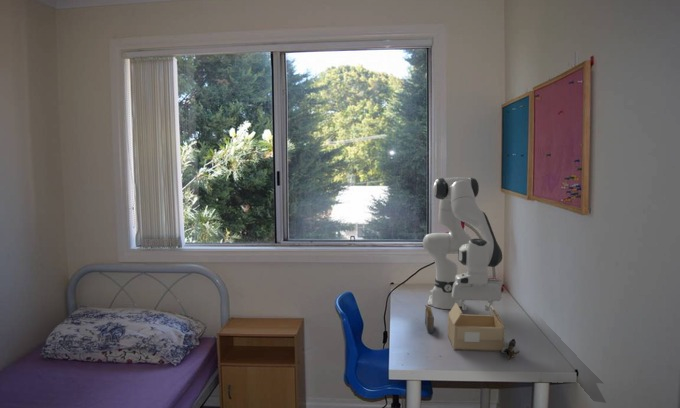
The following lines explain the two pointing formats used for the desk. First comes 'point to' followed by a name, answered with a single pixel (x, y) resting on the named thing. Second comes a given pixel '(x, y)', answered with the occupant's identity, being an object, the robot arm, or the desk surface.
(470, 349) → the carton
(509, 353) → the eagle figurine
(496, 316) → the flap
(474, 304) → the desk surface
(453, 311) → the flap
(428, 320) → the miniature staircase model
